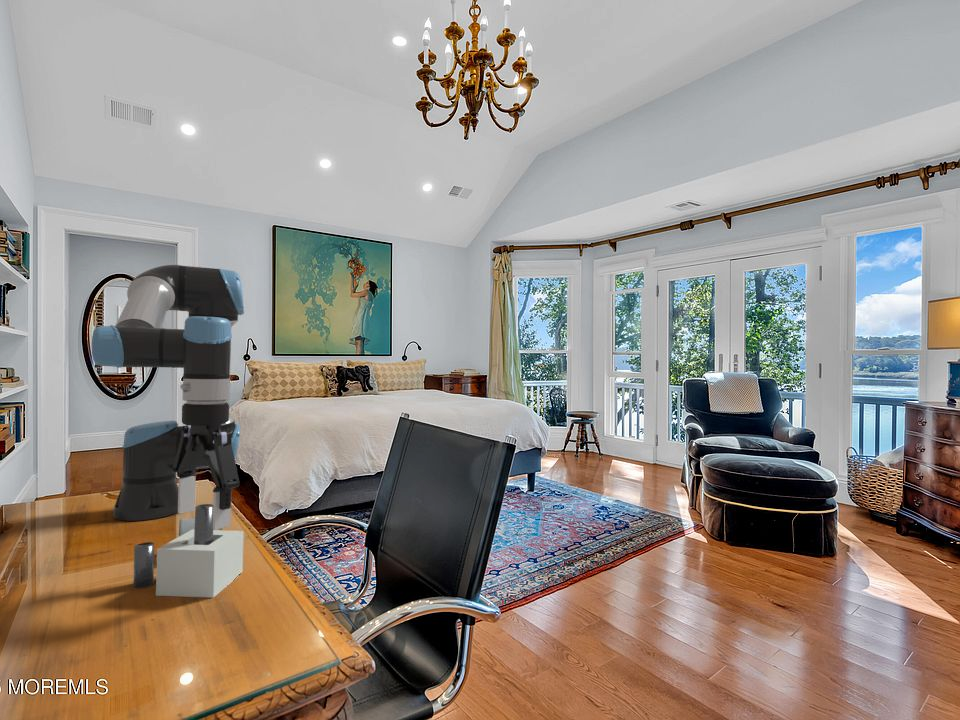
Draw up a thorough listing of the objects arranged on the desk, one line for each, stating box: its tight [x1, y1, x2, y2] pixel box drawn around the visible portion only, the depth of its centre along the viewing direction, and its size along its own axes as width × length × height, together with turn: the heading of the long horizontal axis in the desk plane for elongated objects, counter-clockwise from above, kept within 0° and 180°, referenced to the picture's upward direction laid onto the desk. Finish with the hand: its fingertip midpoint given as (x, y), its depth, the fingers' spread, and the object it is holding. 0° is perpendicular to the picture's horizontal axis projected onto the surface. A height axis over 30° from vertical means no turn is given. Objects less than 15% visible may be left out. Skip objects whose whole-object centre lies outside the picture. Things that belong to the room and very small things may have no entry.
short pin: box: [132, 541, 155, 589], centre depth 89 cm, size 3×3×7 cm
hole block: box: [155, 529, 245, 599], centre depth 90 cm, size 10×10×8 cm
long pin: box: [194, 503, 213, 545], centre depth 90 cm, size 3×3×14 cm
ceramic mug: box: [178, 517, 224, 537], centre depth 105 cm, size 11×8×8 cm
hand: (203, 519), depth 90 cm, fingers open, 13 cm apart
